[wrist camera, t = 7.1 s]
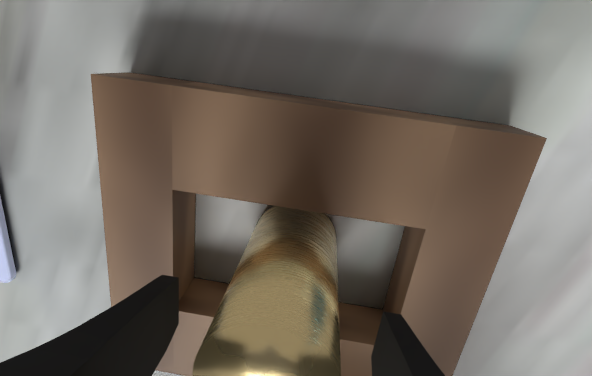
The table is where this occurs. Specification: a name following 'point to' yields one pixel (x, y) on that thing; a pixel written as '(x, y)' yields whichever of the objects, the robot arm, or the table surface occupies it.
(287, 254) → the brass peg
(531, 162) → the jig plate
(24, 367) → the robot arm
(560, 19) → the table surface
